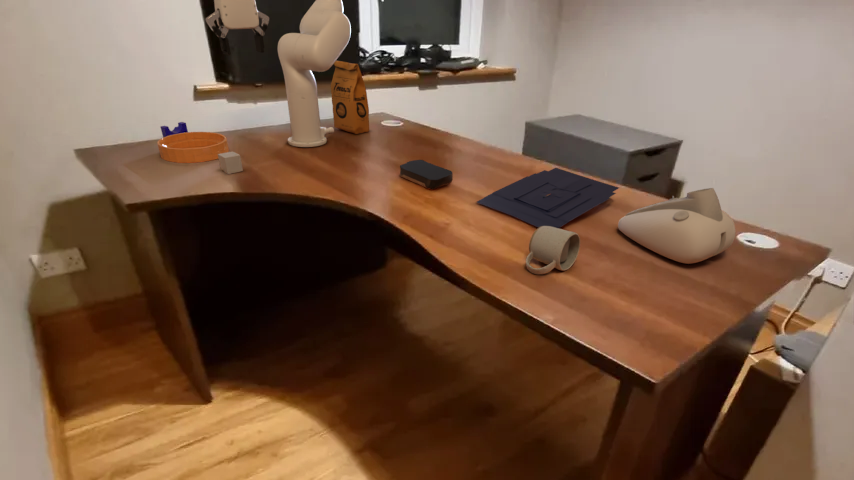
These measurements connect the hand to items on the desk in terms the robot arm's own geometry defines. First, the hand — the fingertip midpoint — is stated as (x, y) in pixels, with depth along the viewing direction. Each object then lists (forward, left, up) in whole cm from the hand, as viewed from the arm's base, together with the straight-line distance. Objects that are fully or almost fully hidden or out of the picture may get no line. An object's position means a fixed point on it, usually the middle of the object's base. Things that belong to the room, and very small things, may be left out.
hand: (243, 53), depth 146 cm
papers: (-38, +80, -28) cm, 93 cm away
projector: (-38, +112, -28) cm, 122 cm away
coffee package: (-41, -10, -28) cm, 51 cm away
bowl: (+14, -14, -28) cm, 34 cm away
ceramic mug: (-10, +101, -28) cm, 105 cm away
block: (+12, +6, -28) cm, 31 cm away
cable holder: (+11, -38, -28) cm, 49 cm away
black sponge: (-25, +47, -28) cm, 60 cm away
